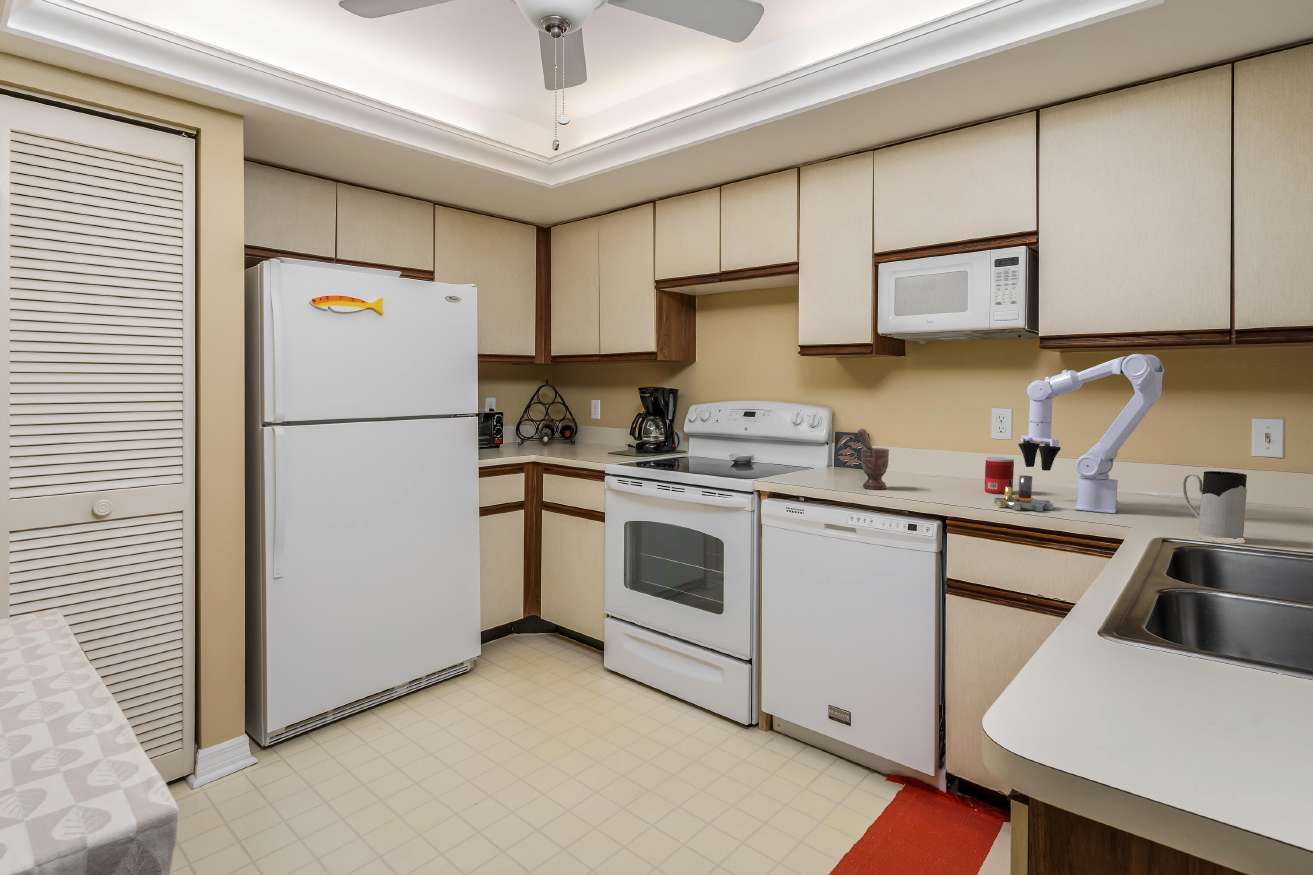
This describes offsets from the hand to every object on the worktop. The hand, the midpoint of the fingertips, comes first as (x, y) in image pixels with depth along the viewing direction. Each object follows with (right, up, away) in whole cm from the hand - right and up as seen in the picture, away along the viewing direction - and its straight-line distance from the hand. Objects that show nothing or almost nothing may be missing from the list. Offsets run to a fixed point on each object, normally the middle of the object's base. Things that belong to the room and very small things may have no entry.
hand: (1037, 468), depth 200 cm
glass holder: (+16, -14, -42) cm, 47 cm away
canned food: (-3, -9, +18) cm, 20 cm away
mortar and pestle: (-41, -8, +25) cm, 48 cm away
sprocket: (-8, -11, -7) cm, 15 cm away
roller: (-8, -8, -7) cm, 13 cm away
